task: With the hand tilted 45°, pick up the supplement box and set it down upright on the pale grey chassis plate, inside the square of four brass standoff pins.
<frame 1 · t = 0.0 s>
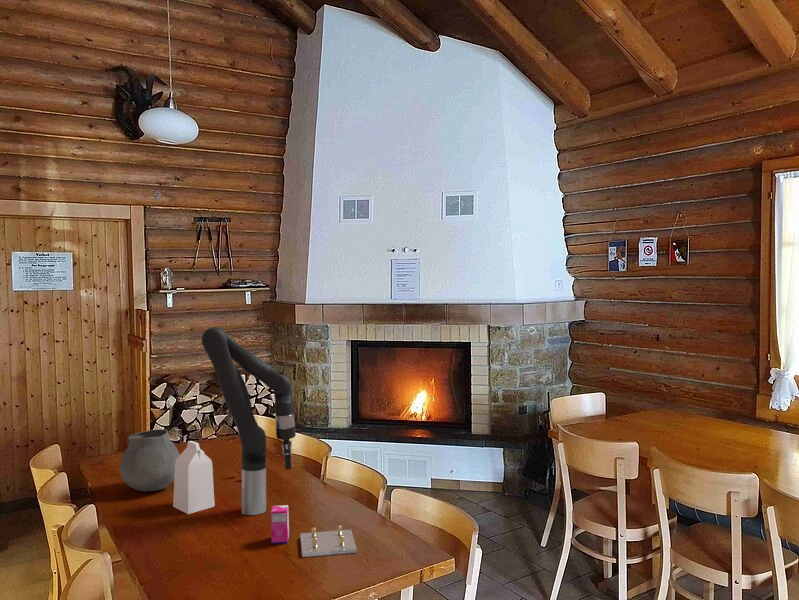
hand: (288, 465, 247), 17 cm above the table, tool pointing down, fingers open, 8 cm apart
milk: (193, 507, 250), on the table
chassis plate: (327, 544, 214), on the table
supplement box: (280, 541, 217), on the table
ceramic pot: (151, 489, 271), on the table
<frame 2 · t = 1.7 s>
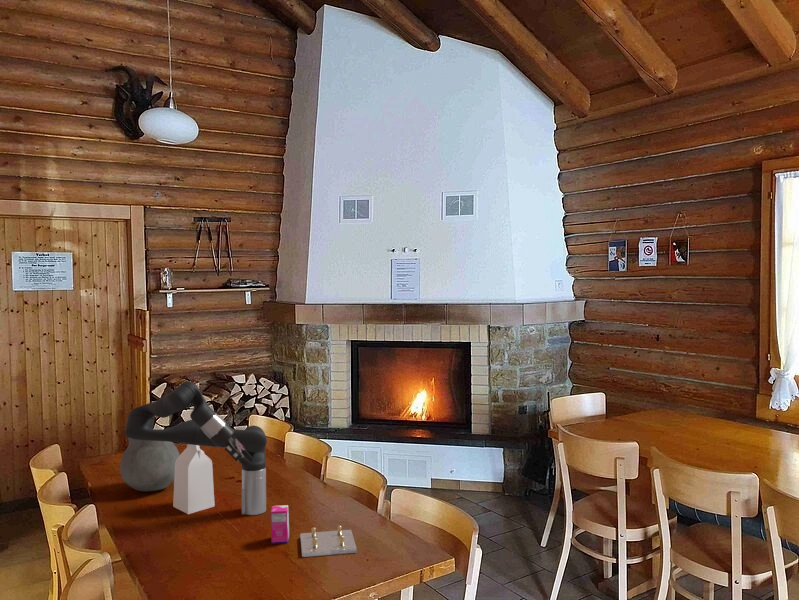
hand: (249, 463, 216), 27 cm above the table, tool tilted 40°, fingers open, 8 cm apart
nothing on the table moved.
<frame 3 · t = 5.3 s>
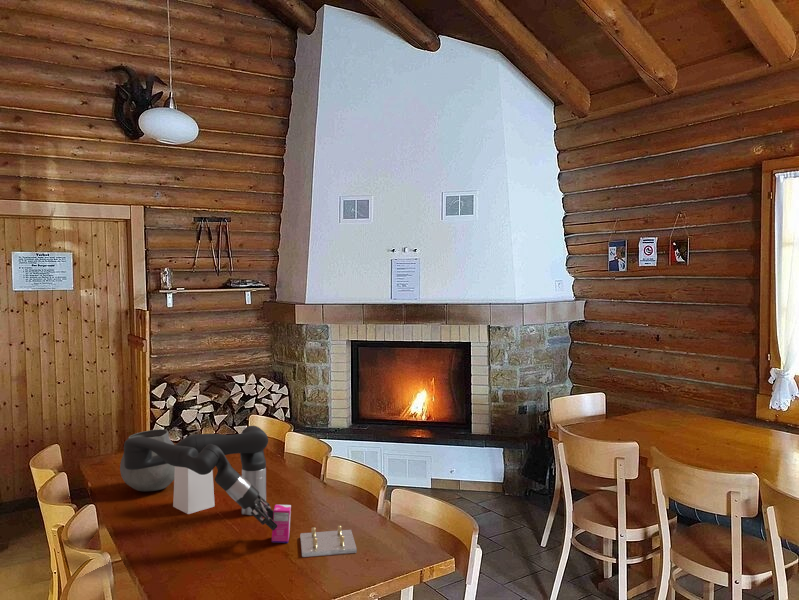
hand: (275, 523, 216), 6 cm above the table, tool tilted 45°, fingers open, 8 cm apart
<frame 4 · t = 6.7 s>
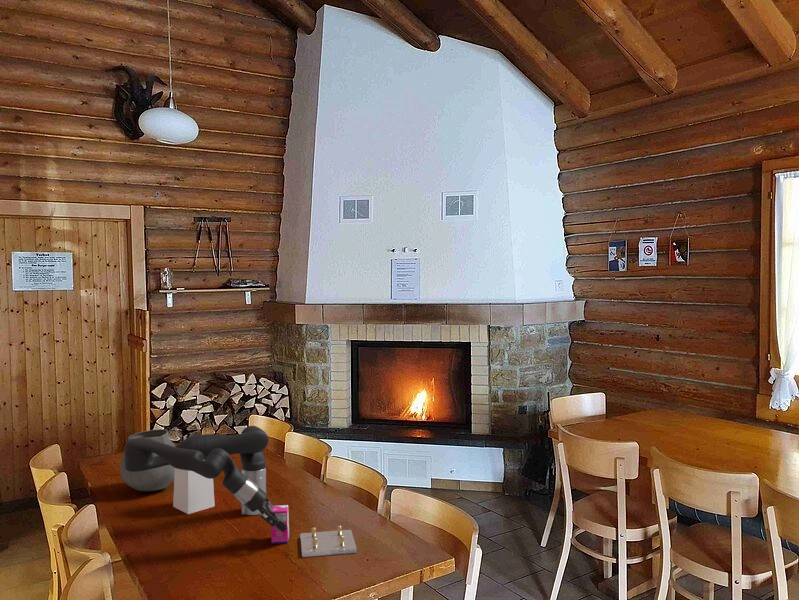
hand: (285, 526, 217), 5 cm above the table, tool tilted 45°, fingers closed on supplement box, 6 cm apart
supplement box: (280, 540, 217), on the table, touching gripper
everything else where it was.
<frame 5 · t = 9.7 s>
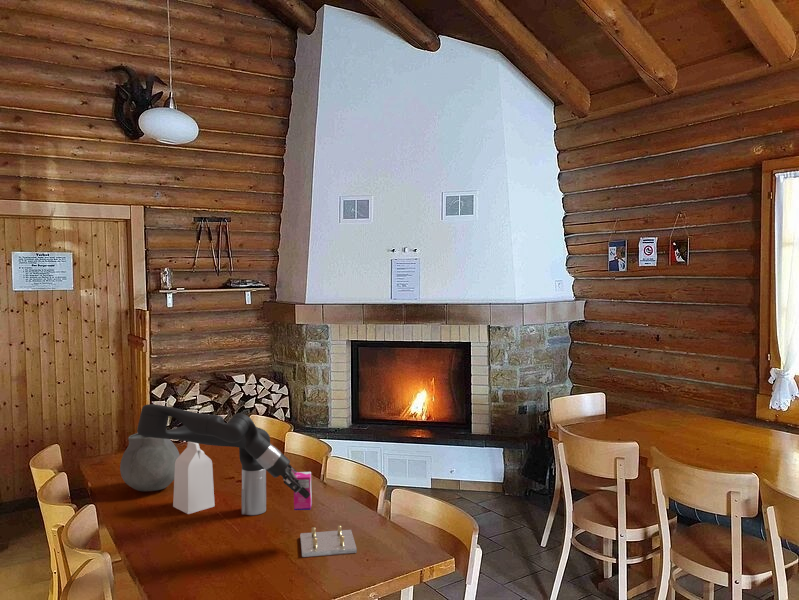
hand: (308, 492, 214), 18 cm above the table, tool tilted 45°, fingers closed on supplement box, 6 cm apart
supplement box: (302, 507, 214), point 13 cm above the table, touching gripper
everything else where it was.
when the fingers open (8 cm above the table, at t = 12.9 s): supplement box drops 1 cm, resting on chassis plate.
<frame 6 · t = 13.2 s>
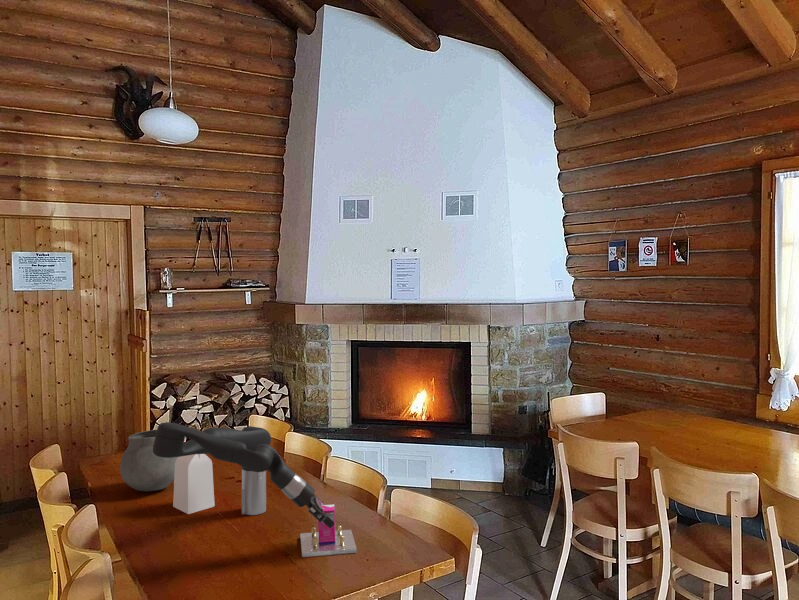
hand: (331, 520, 214), 8 cm above the table, tool tilted 45°, fingers open, 8 cm apart
supplement box: (326, 540, 214), point 1 cm above the table, touching chassis plate
everything else where it was.
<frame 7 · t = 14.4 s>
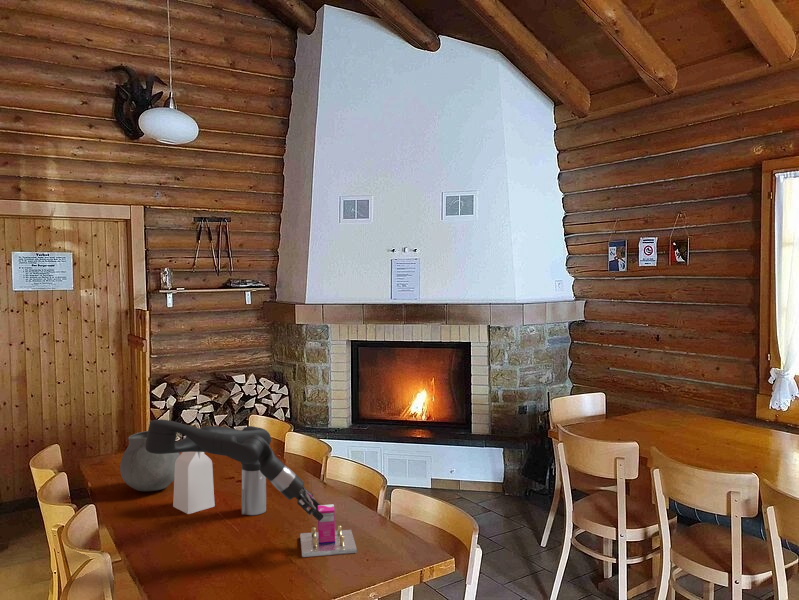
hand: (320, 513, 212), 11 cm above the table, tool tilted 45°, fingers open, 8 cm apart
supplement box: (326, 540, 214), point 1 cm above the table, touching gripper
everything else where it was.
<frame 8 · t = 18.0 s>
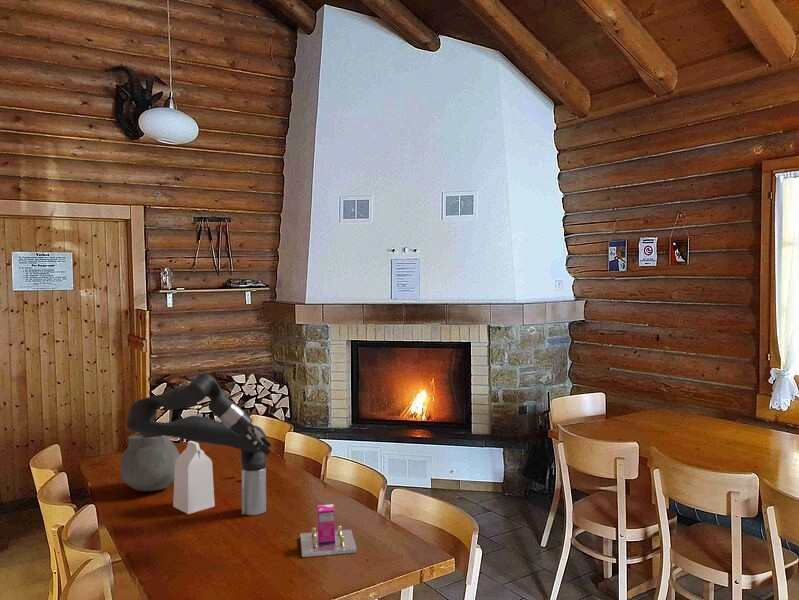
hand: (269, 450, 221), 31 cm above the table, tool tilted 45°, fingers open, 8 cm apart
supplement box: (326, 540, 214), point 1 cm above the table, touching chassis plate
everything else where it was.
at the end: supplement box 0.6 cm off-centre on the chassis plate, point 1.3 cm above the chassis plate's base; supplement box tilted 0°; the gripper is holding nothing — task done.
